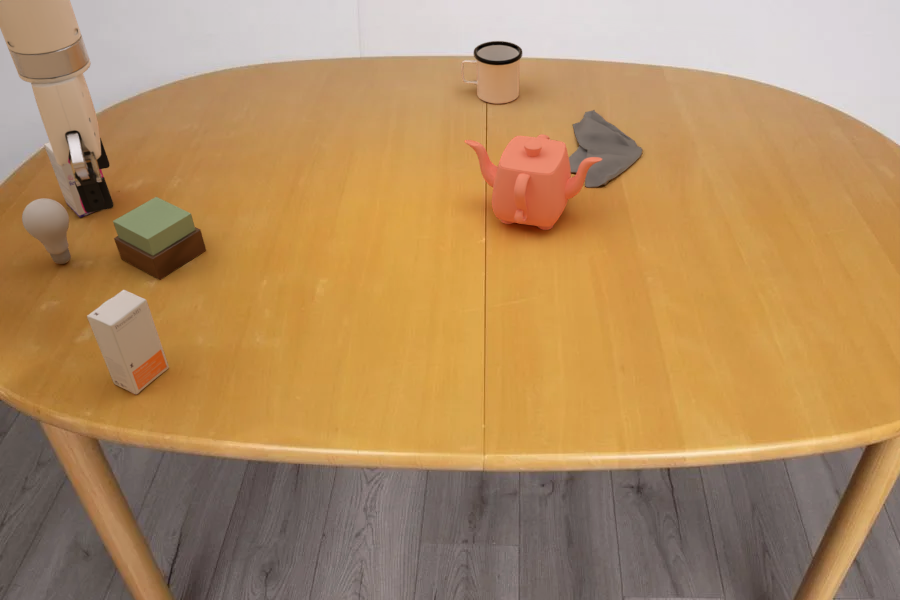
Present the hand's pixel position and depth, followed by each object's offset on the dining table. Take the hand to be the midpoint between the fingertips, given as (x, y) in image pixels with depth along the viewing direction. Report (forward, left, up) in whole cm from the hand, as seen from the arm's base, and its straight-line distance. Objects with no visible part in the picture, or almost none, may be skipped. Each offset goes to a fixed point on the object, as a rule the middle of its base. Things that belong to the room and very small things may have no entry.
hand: (98, 188), depth 108 cm
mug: (+84, 0, -22) cm, 87 cm away
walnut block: (+12, +11, -22) cm, 28 cm away
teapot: (+54, -29, -22) cm, 65 cm away
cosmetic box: (-7, -8, -22) cm, 25 cm away
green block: (+12, +11, -18) cm, 24 cm away
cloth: (+78, -29, -22) cm, 86 cm away
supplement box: (+14, +32, -22) cm, 41 cm away
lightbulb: (+2, +22, -22) cm, 31 cm away
